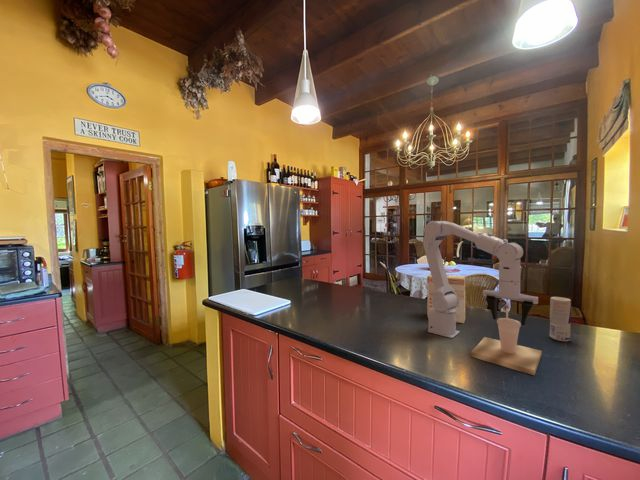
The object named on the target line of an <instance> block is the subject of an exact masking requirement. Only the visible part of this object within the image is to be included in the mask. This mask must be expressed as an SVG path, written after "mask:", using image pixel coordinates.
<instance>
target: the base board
mask: <svg viewBox="0 0 640 480" xmlns="http://www.w3.org/2000/svg"><path fill="white" fill-rule="evenodd" d="M542 353H543V350H540V349H536V348H532V347H528V346H523V345H520V344H517V345H516V351H515V353H507V352H504V351H502V350H501V343H500V339H494V338H491V337H487V336H484V337H483V338H482V339H481V340H480V342H479V343H478V344H477V345H476V346H475V347H474V348H472V350H471V351H470V358H471V357H472V358H474V359H479V360H481V361H485V362H488V363H492V364H493V365H494V364H495V365H498V366H501V367H503V368H508V369H511V370H515V371H518V372H522V373H525V374H528V375H532V376H536V372H537V369H538V367H539V364H540V361H541V359H542V357H543V354H542Z"/></svg>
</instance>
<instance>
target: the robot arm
mask: <svg viewBox="0 0 640 480" xmlns="http://www.w3.org/2000/svg"><path fill="white" fill-rule="evenodd" d="M423 232H424V237H423V242H422V244H423V249H424V252H425V256H426V260H427V263H428V268H429V272H430V274H431V276H432V280H433V283H434V289H433V291H432V296H433V299H432V305H433V307H434V308H431V309H430V311H429V316H428V317H427V319H428V328H427V329H428V330H427V332H428V333H431V334H433V335H434V334H435V335H438V336H442V337H446V338H450V339H454V338H455V337H457V335H458V334H460V330H456V329H457V327H456V325H457V322H456V306H458V304H459V298H458V296H457V295H456V293H455V292H454V289H453V288H452V287H451V286H450V285H449V282H448V279H447V275H448V274H447V273H446V269H445V265H444V260H443V257H442V254H441V250H440V244H441V243H442V242H443V240H445V239H446V238H448V237H449V236H450V235H453V236H457V237H459V238H462V239H464V240H467V241H470V242H472V243H474V244H475V247H476V248H477V249H479V250H482V251H483V252H486V253H488V254H491V255H492V256H494V257H495V256H496V257H497V259H498V260H499V262H498V290H492V289H491V290H490V289H484V290H482V297H486V298H485V301H486V303H487V305H488V306H489V310H490V311H491V314H492V319H493V320H496V321H497V319H498V300H499V299H502V300H509V301H516V302H522V303H521V321H520V323H521V326H526V321H527V318H528V315H529V313H530V311H531V309H532V307H533V306H534V305H538V304H539V296H534V295H528V294H524V293H521V271H522V270H521V258H522V257H523V255H524V249H523V247H522V246H521V245H519V244H518V243H517V242H509V240H508V239H506V238H504V239H502V238H499V237H497V236H494V234H493V233H492V232H488V233H486V232H483V233H480V234H479V233H477V232H474V231H472V230H470V229H469V228H466V227H465V226H461V225H459V224H457V223H456V222H455V223H454V222H451V221H448V220H431V221H429V222H428V223H427V224H426V225H425V227H424V228H423Z"/></svg>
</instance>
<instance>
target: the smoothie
mask: <svg viewBox="0 0 640 480" xmlns="http://www.w3.org/2000/svg"><path fill="white" fill-rule="evenodd" d="M496 324H497V326H498V327H497V328H498V334H499V340H500V343H501V350H502V351H504V352H507V353H515V351H516V345H518V339H519V333H520V328H521V327H522V325H521V321H518V320H516V319H513V318H509V307H505V317H499V318H498V317H497V319H496Z"/></svg>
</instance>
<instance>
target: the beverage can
mask: <svg viewBox="0 0 640 480" xmlns="http://www.w3.org/2000/svg"><path fill="white" fill-rule="evenodd" d="M571 314H572V300H571V299H570V298H566V297H561V296H551V297H550V300H549V337H550V338H551V339H553V340H555V341H558V342H569V341H570V340H571V325H572V324H571V321H572V320H571V317H572V315H571Z"/></svg>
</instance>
